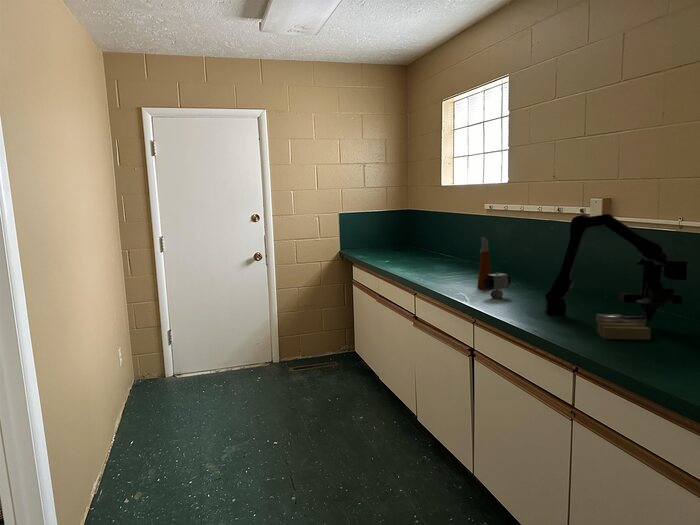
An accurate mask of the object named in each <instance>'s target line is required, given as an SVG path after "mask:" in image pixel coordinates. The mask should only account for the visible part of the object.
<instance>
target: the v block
mask: <svg viewBox="0 0 700 525" xmlns="http://www.w3.org/2000/svg"><path fill="white" fill-rule="evenodd" d="M596 327H597V328H596V333H597V334H598V335H600V336H601V337H602V338H603V339H604V340H605V339H608V340H609V339H610V340H611V339H612V340H616V339H617V340H651V336H652V335H651V331H652V329H651V328H650V327H649V326H645V325H644V324H642V323H597V326H596Z"/></svg>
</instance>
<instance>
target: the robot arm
mask: <svg viewBox="0 0 700 525" xmlns="http://www.w3.org/2000/svg"><path fill="white" fill-rule="evenodd" d="M599 226H605V227H606V228H608V229H609V230H611V231H613V232H614V233H615V234H616V235H618V236H619V237H621V238H623V239H624V240H625V241H627V242H628V243H630V244H632V246H634V247H635V249H637V251H638V252H639V253H640V254H641V255H642V256H644V257H642V258H641V259H640V260H638V261H637V262H636V265H637V266H642V268H641V269H642V271H641V279H639V282H640V283H641V286H640V290H638V293H639V294H635V293H633V292H631V291H620V292H619V294H618V298H617V299H618V300H619V301H621V302H623V303H625V304H627V303H628V304H635V303H637V304H638V305H639V307H640V308H641V310H642V313H643V316H644V317H645V319H646V323H647V322H651V320H652V319H653V317H654V315H655V313H656V311H657V309H658V308H660V307H662V306H664V305H665V304H667V302H668V301H670V302H671V303H672V304H675V305H676V304H683V296H682V295H680V294H679V293H677V292H675V289H674V288H664V287H663V286H664V285H663V282H662V276H663V277H664V278H666V280H668V281H669V280H670V281H681V282H682V281H683V282H687V281H688V273H689V269H688V262H689V261H688V260H673V259H671V260H670V257H669V256H668V255H667V254H666V253H665V249H664V245H663V244H662V243H661V242H658V241H656V240H655V239H654V240H653V239H652V238H649V237H646V236H644V235H642V234H641V233H638V232H637V231H635V230H634V229H632V228H631V227H629V226H628V225H626V224H624V223H623V222H621V221H620V220H619V219H617V218H615V217H614V216H613V215H612V214H611V213H604V214H600V215H599V214H598V215H592V216H588V215H585V214H581V215H576V216H574V217H573V218H572V219H571V221H570V227H569V236H570V237H569V238H570V239H569V241H568V245H567V248H566V252H565V256H564V258H563V262H562V265H561V268H560V272H559V273H558V275H557V276H556V278H555V280H554V281H553V284H552V286H551V289H550V290H549V291H548V292H547V293H546V294H544V297H545V310H544V313H545V315H546V316H548V317H566V314H567V312H566V310H567V304H566V301H565V299H564V298H565V296H566V295H568V294H569V293H570V292H571V291H572V290H574V289H573V286H574V284H575V282H576V279H572V275H573V271H574V268H575V264H576V260H577V257H578V254H579V252H580V248H581V244H582V242H583V239H584V238H585V236H586V235H587V232H588V231H589V229H590V228H593V227H599ZM662 270H663V271H662ZM662 272H663V275H662Z"/></svg>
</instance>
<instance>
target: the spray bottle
mask: <svg viewBox="0 0 700 525" xmlns="http://www.w3.org/2000/svg"><path fill="white" fill-rule="evenodd" d="M480 242H481V245H480V250H479V254H480V261H479V268H478V269H479V270H478V278H477V286H476V287H477V289H478V288H479V289H478V290H482V289H488V288H486V287H485V285H484V279H485V278H486V275H488V274H492V273H491V272H492V271H491V262H490V261H491V260H490V247H489V243H490V242H489V241H488V238H486V237H484V236H482V237H480Z"/></svg>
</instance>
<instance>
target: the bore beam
mask: <svg viewBox="0 0 700 525" xmlns="http://www.w3.org/2000/svg"><path fill="white" fill-rule="evenodd" d="M600 316H623V315H622V314H619V313H596V314H595V323H596V324H598V323H599V318H600ZM603 323H631V321H629V320H612V319H604V321H603Z"/></svg>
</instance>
